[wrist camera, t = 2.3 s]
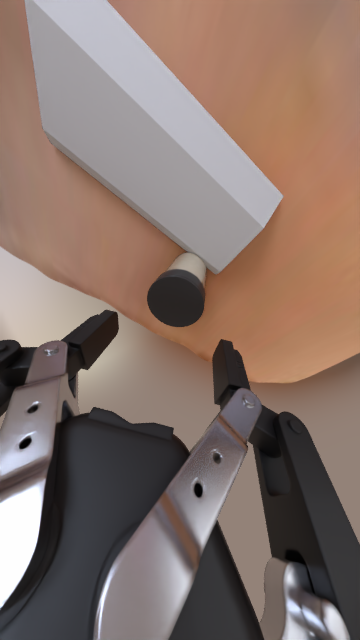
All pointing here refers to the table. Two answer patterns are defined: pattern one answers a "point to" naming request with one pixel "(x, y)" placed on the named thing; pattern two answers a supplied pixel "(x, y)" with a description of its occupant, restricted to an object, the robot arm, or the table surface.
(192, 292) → the jar lid
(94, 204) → the table surface
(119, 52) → the crown molding
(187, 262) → the coffee jar
